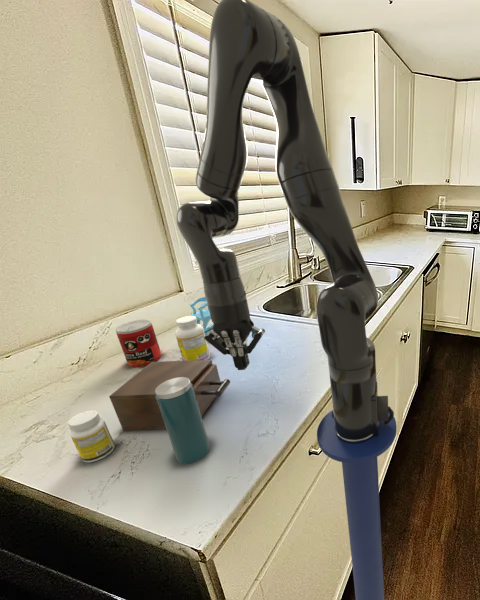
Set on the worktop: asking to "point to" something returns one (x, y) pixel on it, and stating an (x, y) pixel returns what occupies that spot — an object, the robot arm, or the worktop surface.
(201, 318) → the chair
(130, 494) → the worktop surface
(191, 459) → the can
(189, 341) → the supplement bottle
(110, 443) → the supplement bottle
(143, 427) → the cabinet
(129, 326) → the canned food
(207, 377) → the drawer
